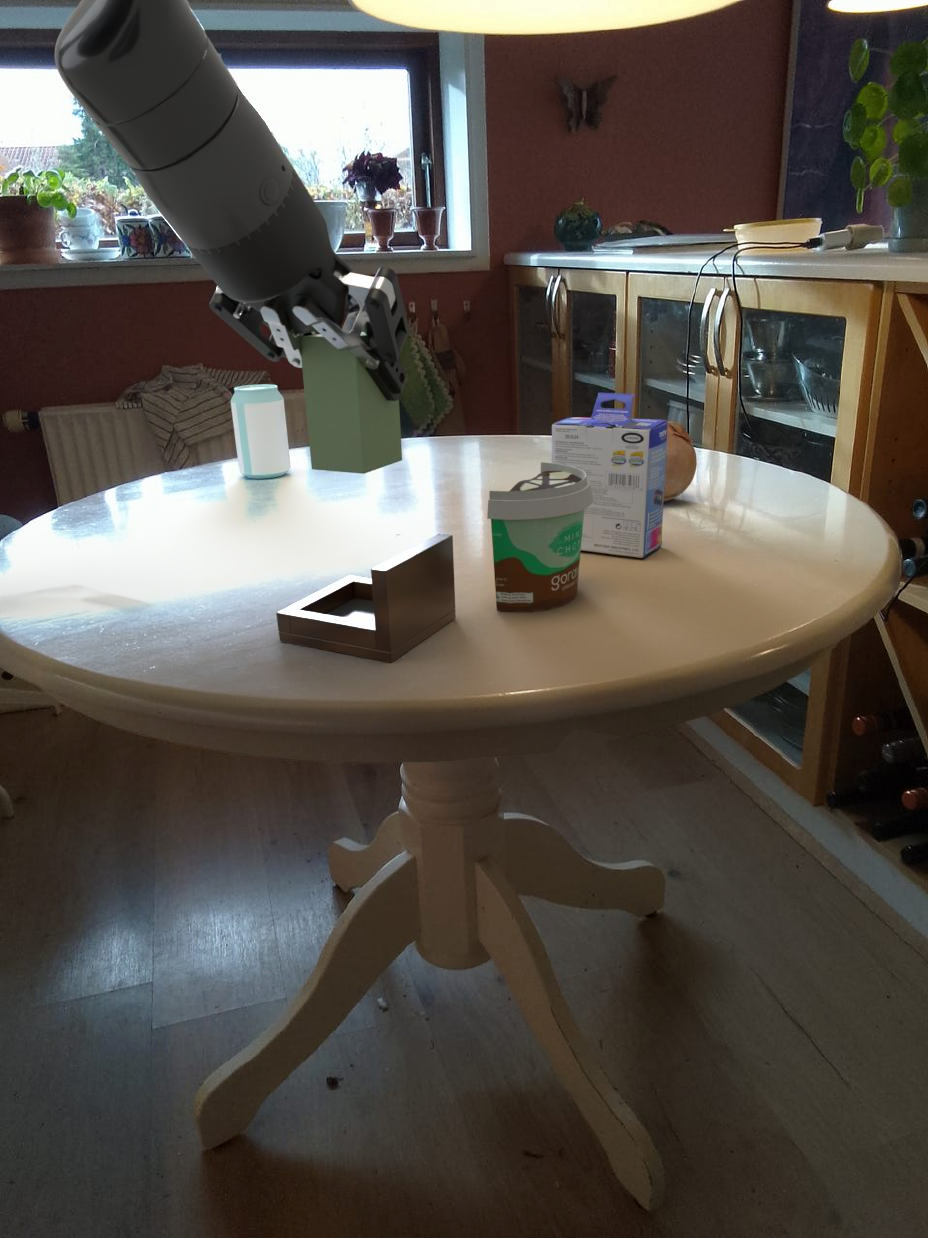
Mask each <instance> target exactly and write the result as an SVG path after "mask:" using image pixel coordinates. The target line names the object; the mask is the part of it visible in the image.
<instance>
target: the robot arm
mask: <svg viewBox="0 0 928 1238" xmlns="http://www.w3.org/2000/svg"><path fill="white" fill-rule="evenodd" d="M54 63H55V66H56V69H57V72H58V74H59V76H60V78H61V79H62V81H63V83H64V84H65V86H66V88H67V89H68V91H69V92H70V93H71V94H72V95H73V97H74V98H75V100H76V101H77V102H78V104H79V105H80V106H81V108H82V109H83V111H85V113H86V114H87V115H88V116H89V118H91V120H92V121H93V123H94V124H95V126H96V127H97V128H98V130H99V131H101V133H102V134H103V136H104V137H105V138H106V139H107V141H108V142H109V143H110V144H111V146H112V148H114V150H115V151H116V152H117V153H118V154H119V156H120V157H121V159H122V160H123V161H124V162H125V163H126V164H127V166H128V167H129V169H130V170H131V171H132V173H133V174H134V176H135V177H136V179H137V181H138V182H139V184H140V186H141V187H142V189H143V191H144V193H145V194H146V196H147V197H148V199H149V200H150V202H151V204H152V205H153V206H154V208H155V209H156V210H157V211H158V213H159V215H161V217H162V218H163V219H164V220H165V221H166V223H167V224H168V225H169V227H170V228H171V229H172V230H173V232H174V233H175V234H176V236H177V237H178V238H179V239H180V241H181V242H182V244H184V246H185V247H186V248H187V249H188V251H189V252H190V253H191V255H192V256H193V257H194V258H195V259H196V260H197V262H198V263H199V264H200V266H201V267H202V268H203V269H204V270H205V272H206V273H207V275H208V276H209V278H211V280H212V281H213V282H214V283H215V284H216V289H215V291H214V293H213V295H212V298H211V299H210V301H209V303H208V306H209V307H208V308H209V309H210V310H211V311H212V312H213V313H214V314H215V315H217V316H218V317H219V318H220V319H221V320H223V321H224V323H226V324H227V325H228V326H229V327H231V329H233V331H235V332H236V333H237V334H238V335H240V336H241V337H242V338H243V339H244V340H245V341H246V342H248V344H249V345H251V346H252V347H253V348H255V350H257V351H258V352H259V353H260V354H261V355H262V356H263V357H265V358H266V359H267V360H269V361H271V362H276V363H277V362H279V361H280V359H281V358H284V359H287V361H288V363H289V364H290V365H292V366H293V367H295V368H298V369H302V359H301V353H302V345H301V340H302V337H303V336H309V335H317V334H321V335H322V336H323V337H324V338H326V339H327V340H328V341H329V342H330V343H331V344H332V345H333V346H334V347H335V348H336V349H338V350H339V351H343V350H348V351H349V352H350V353H351V354H352V355H353V356H354V357H356V358H357V359H358V360H359V361H360V362H361V363H362V364H363V365H364V366H365V367H366V370H367V372H368V373H369V375H370V376H371V378H372V379H373V381H374V382H375V384H376V385H377V387H378V388H379V390H380V391H381V393H382V394H383V396H384V397H385V398H386V400H388V401H397V400H398V399H400V396H401V395H402V394H403V390H404V388H405V385H406V383H407V381H408V376H409V375H408V372H407V370H406V368H405V367H404V366H403V363H401V361H400V359H399V357H400V354H401V352H402V349H403V347H404V344H405V343H406V341H407V337H408V335H409V332H410V326H409V322H408V318H407V314H406V313H407V312H406V309H405V305H404V301H403V297H402V291H401V288H400V282H399V278H398V275H397V273H396V272H395V270H393V269H392V268H391V267H388V266H380V267H379V268H377V269H378V270H377V272H376V274H375V276H371V275H367V274H362V273H361V274H360V273H356V272H354V271H353V269H352V267H351V266H350V265H349V264H348V262H346V261H345V260H344V259H342V258H341V257H340V256H339V255H338V254H337V253H336V252H335V251H334V249H333V247H332V243H331V240H330V236H329V235H330V234H329V230H328V224H327V222H326V219H325V217H324V215H323V213H322V212H321V210H320V209H319V207H318V205H317V204H316V202H315V200H314V198H313V197H312V195H311V194H310V192H309V191H308V189H307V187H306V185H305V184H304V182H303V180H302V179H301V177H300V176H299V174H298V172H297V171H296V169H295V167H294V165H293V164H292V162H291V161H290V160H289V157H288V156H287V154H286V153H285V151H284V150H283V148H282V146H281V144H280V142H279V141H278V139H277V138H276V136H275V135H274V133H273V131H272V129H271V128H270V126H269V125H268V123H267V122H266V120H265V119H264V117H263V116H262V114H261V113H260V112H259V110H258V109H257V108H256V107H255V105H254V104H253V103H252V102H251V100H249V98H248V97H247V96H246V95H245V93H244V92H243V91H242V89H241V87H240V86H239V85H238V83H237V82H236V80H235V79H234V77H233V75H232V74H231V72H230V70H229V69H228V68H227V65H226V64H225V62H224V61H223V59H222V57H221V56H220V54H219V52H218V51H217V50H216V48H215V45H214V44H213V43H212V41H211V40H210V38H209V37H208V35H207V33H206V31H205V29H204V28H203V26H202V24H201V23H200V21H199V19H198V18H197V16H196V14H195V13H194V11H193V9H192V7H191V5H190V3H189V1H188V0H80V1H79V3H78V5H77V6H76V7H75V9H74V10H73V11H72V13H71V14H70V16H69V17H68V18H67V19H66V22H65V23H64V25H63V27H62V29H61V31H60V33H59V34H58V37H57V39H56V43H55V47H54ZM344 320H345V321H344ZM343 322H344V323H343ZM262 324H263V325H265V326H266V328H268V329H269V331H270V332H271V335H270V336H269V339H268V338H267V337H266V336H265V335H264V334H263V333H262V332H261V327H262ZM342 324H343V325H342ZM341 326H342V328H341ZM361 332H364V333H365V334H366V335H367V336H368V337H369V338H370V339H369V342H368V344H367V345H366V344H365V343H364V342H363V341H362V340H361V338H360V335H361Z"/></svg>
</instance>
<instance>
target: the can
mask: <svg viewBox="0 0 928 1238" xmlns="http://www.w3.org/2000/svg"><path fill="white" fill-rule="evenodd" d="M233 391H234V393H233V395H232V397H231V398H230V408H231V416H232V424H233V433H234V438H235V447H236V456H237V463H238V465H237V466H238V471H239V473H240V474H241V475H242V476H243V475H244V476H245V477H246V478H248V479H255V480H256V479H257V480H261V479H263V480H264V479H273V478H278V477H282V476H284V475H286V473H287V472H288V471H290V469H291V457H290V449H289V447H290V446H289V439H288V438H289V437H288V428H287V427H288V426H287V419H286V418H287V417H286V409H285V399H284V396H283V395H282V394H281V393H280V391H279V390H278V385H276V384H248V385H247V384H246V385H239V386H236V387H234V388H233Z"/></svg>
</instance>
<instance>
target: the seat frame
mask: <svg viewBox="0 0 928 1238" xmlns="http://www.w3.org/2000/svg"><path fill="white" fill-rule="evenodd" d="M454 561H455V559H454V537H453V534H445V533H438V534H436V535H434V536H432V537H431V538H430V537H429V538H428V539H427V540H425V541H423V542H421V543H419V544H416V545H415V546H413V547H411V548H409V549H407V550H405V551H403V552H401V553H400V554H397V555H396V556H394V557H392V558H390V559H388V560H386V561H384V562H382V563H380V564H378V565H376V566H374V567H372V568H371V569H370V577H371V578H368V577H362V576H356V575H347V576H346V577H344V578H343V577H342V579H339V580H338V581H336V582H334V583H332V584H330V585H328V586H326V587H324V588H322V589H320V590H318V591H315V592H314V593H311V594H310V595H308V596H306V597H304V598H302V599H301V600H298V601H297V602H295V603H292V604H290V605H288V606H287V607H285V608H282V609H281V610H279V611H277V612H276V613H275V614H276V615H275V616H276V622H277V631H278V639H279V641H280V642H285V643H288V644H293V645H298V646H299V645H300V646H305V647H308V648H309V647H310V648H314V649H320V650H325V651H330V652H334V653H340V654H345V655H351V656H355V657H360V658H366V659H369V660H374V661H375V660H376V661H381V662H387V663H393V662H394V661H396V660H397V659H399V658H401V657H402V656H403V655H405V654H406V653H407V652H409V651H410V650H412V649H414V648H415V647H416V646H418V645H419V644H420V643H422V642H423V641H425V640H426V639H427V638H429V637H431V636H432V635H434V634H435V633H436V632H438V631H439V630H441V629H442V628H444V627H445V626H446V625H448V624H449V623H450V622H452V621H453V620H455V619H456V590H455V589H456V588H455V587H456V586H455V585H456V584H455V563H454Z"/></svg>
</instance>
